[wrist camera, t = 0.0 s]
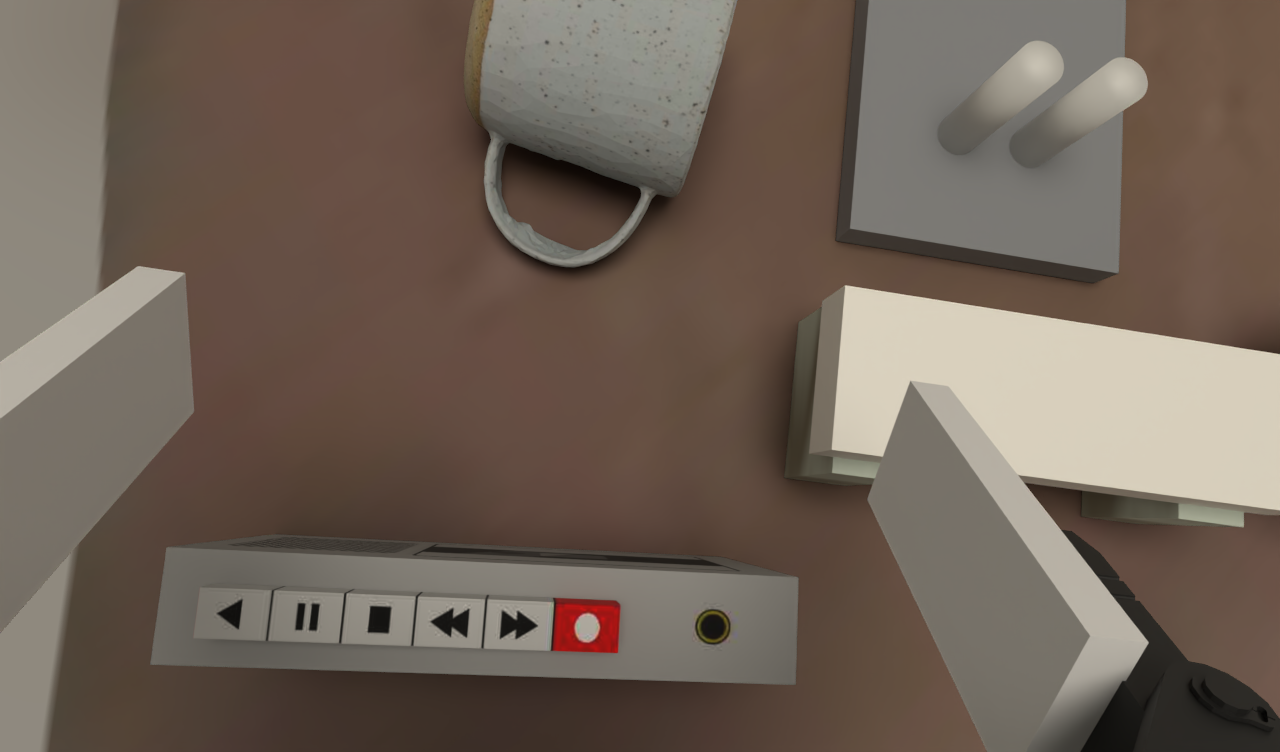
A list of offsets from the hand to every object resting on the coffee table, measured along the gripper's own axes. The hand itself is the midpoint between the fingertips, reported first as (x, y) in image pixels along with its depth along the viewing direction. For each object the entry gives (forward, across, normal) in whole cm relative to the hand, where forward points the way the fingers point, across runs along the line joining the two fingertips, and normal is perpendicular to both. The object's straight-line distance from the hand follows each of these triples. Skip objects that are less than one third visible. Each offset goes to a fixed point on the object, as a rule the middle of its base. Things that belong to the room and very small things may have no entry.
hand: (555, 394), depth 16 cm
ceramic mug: (+20, 0, -1) cm, 20 cm away
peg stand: (+24, -16, -7) cm, 30 cm away
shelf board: (+10, -16, +4) cm, 19 cm away
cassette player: (+10, +1, +13) cm, 16 cm away
